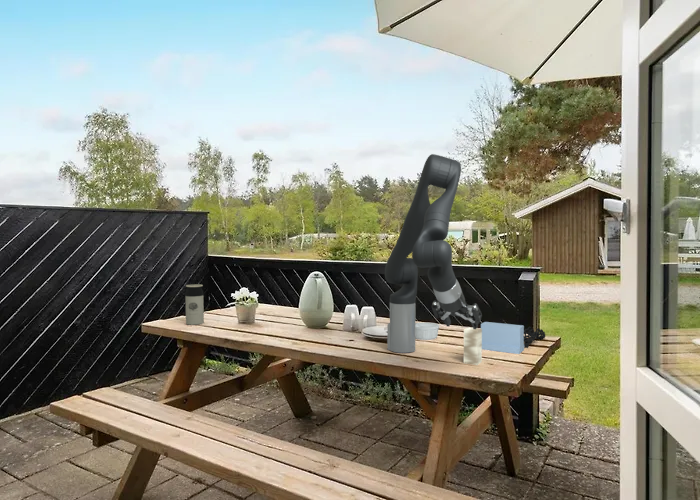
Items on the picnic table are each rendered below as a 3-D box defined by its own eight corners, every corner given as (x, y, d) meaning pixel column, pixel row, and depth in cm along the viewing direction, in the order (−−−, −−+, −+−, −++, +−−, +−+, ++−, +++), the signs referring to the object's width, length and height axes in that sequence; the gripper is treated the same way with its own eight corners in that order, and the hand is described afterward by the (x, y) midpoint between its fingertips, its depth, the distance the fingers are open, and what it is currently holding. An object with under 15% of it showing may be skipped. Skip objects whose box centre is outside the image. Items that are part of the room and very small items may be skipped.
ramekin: (405, 337, 202) (405, 324, 201) (421, 333, 210) (421, 321, 210) (428, 342, 194) (428, 328, 194) (444, 337, 202) (444, 324, 202)
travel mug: (190, 321, 238) (190, 284, 237) (206, 322, 236) (206, 284, 236) (182, 325, 230) (182, 286, 229) (199, 325, 229) (198, 286, 228)
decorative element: (534, 338, 202) (534, 323, 201) (547, 339, 198) (547, 324, 198) (512, 348, 185) (512, 332, 184) (526, 350, 181) (526, 334, 181)
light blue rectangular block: (479, 348, 182) (479, 324, 182) (485, 345, 188) (485, 321, 188) (519, 354, 175) (519, 328, 174) (524, 349, 180) (524, 325, 180)
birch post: (463, 363, 163) (463, 329, 162) (468, 360, 167) (468, 327, 166) (477, 365, 160) (477, 331, 160) (481, 362, 164) (481, 328, 164)
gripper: (475, 283, 143) (487, 317, 153) (429, 281, 151) (443, 313, 161) (469, 304, 139) (481, 338, 149) (421, 301, 146) (437, 333, 156)
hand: (462, 325), depth 155 cm, fingers open, 8 cm apart
